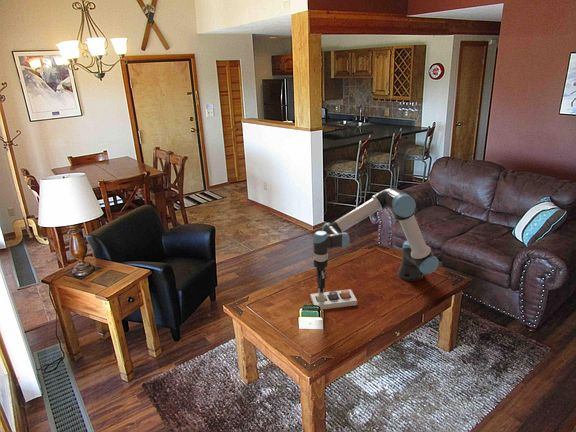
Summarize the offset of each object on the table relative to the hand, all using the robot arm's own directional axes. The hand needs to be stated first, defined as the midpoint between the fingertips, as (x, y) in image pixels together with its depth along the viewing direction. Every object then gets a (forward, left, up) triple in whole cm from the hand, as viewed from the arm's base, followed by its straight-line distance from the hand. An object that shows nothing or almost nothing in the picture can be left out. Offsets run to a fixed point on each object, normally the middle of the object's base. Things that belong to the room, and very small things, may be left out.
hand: (321, 296), depth 225 cm
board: (-7, 0, -4) cm, 8 cm away
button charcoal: (-7, 0, -2) cm, 7 cm away
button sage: (0, 0, -3) cm, 3 cm away
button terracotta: (-14, 0, -2) cm, 14 cm away
